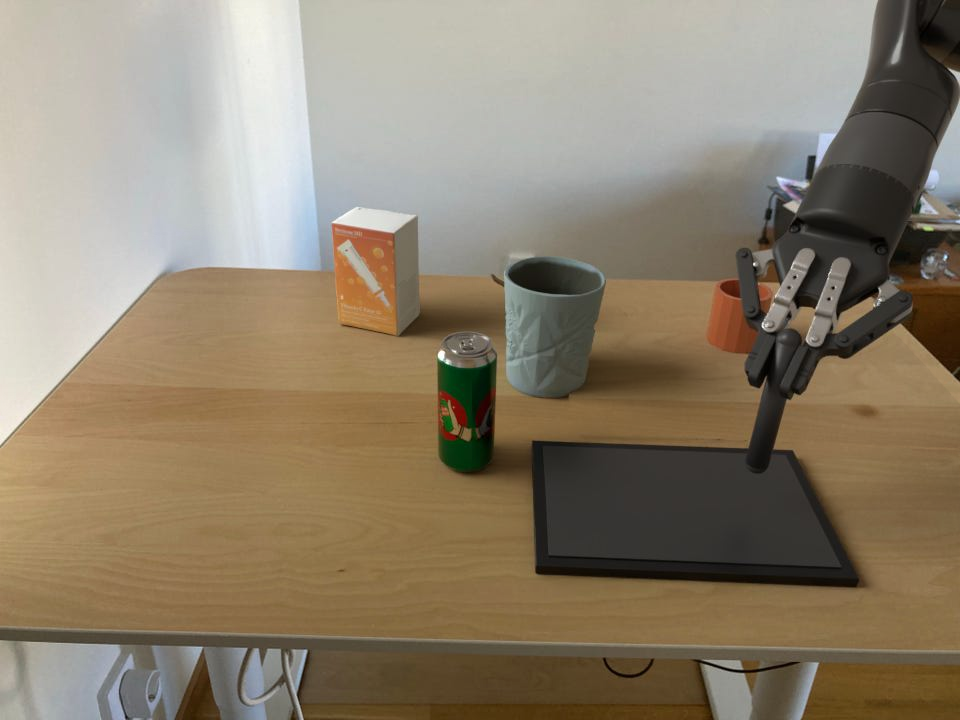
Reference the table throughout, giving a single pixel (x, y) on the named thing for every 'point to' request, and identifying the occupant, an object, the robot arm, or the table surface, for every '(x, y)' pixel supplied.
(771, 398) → the stylus
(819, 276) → the robot arm
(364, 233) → the small box
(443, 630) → the table surface
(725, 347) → the pen pot
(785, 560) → the tablet
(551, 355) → the embossed blue-green cup
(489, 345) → the soda can
